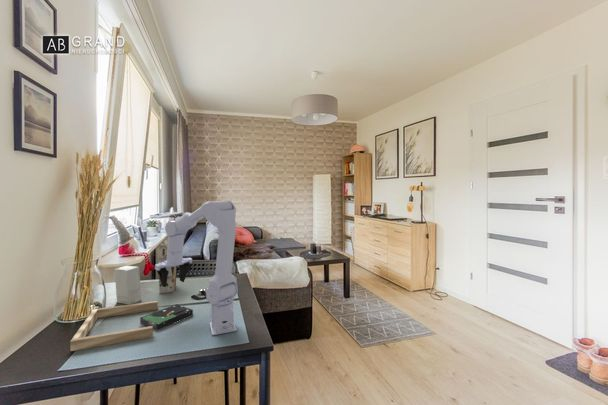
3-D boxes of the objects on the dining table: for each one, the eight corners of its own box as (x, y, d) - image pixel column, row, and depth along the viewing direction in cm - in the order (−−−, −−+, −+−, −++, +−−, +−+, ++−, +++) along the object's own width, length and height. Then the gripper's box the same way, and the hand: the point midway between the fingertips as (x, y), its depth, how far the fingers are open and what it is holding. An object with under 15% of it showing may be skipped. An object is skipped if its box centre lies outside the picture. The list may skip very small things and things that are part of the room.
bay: (152, 336, 94) (152, 327, 94) (70, 351, 86) (70, 341, 85) (157, 308, 117) (157, 300, 117) (93, 317, 108) (93, 309, 108)
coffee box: (174, 292, 135) (173, 258, 135) (158, 293, 133) (158, 259, 133) (176, 285, 144) (175, 254, 143) (162, 287, 142) (161, 254, 142)
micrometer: (201, 302, 124) (201, 296, 124) (189, 299, 128) (189, 293, 128) (225, 291, 138) (225, 286, 138) (213, 288, 141) (213, 283, 141)
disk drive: (176, 310, 116) (139, 324, 103) (176, 303, 116) (139, 317, 103) (193, 316, 111) (156, 332, 98) (193, 309, 111) (156, 324, 98)
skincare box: (141, 300, 125) (141, 266, 124) (128, 305, 119) (127, 270, 119) (128, 297, 128) (127, 264, 127) (114, 302, 123) (114, 267, 122)
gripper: (186, 245, 122) (184, 276, 124) (151, 251, 110) (149, 285, 112) (196, 249, 118) (193, 281, 120) (161, 255, 106) (159, 291, 108)
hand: (173, 283), depth 115 cm, fingers open, 7 cm apart
